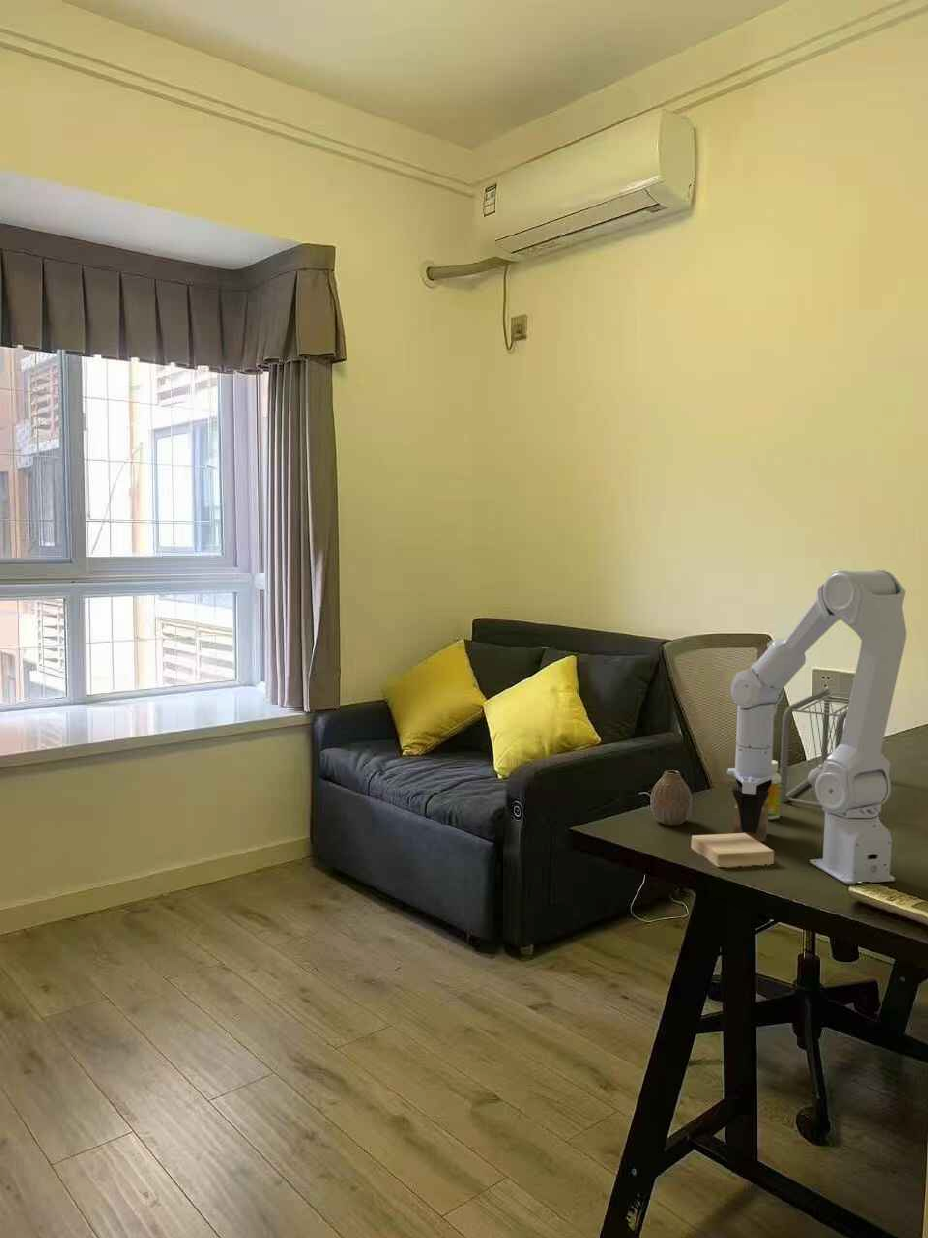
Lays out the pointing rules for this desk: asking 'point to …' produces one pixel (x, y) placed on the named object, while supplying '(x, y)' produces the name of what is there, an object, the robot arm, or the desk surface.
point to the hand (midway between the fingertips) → (750, 826)
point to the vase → (671, 799)
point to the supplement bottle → (774, 793)
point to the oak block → (732, 850)
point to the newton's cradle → (825, 740)
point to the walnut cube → (762, 824)
